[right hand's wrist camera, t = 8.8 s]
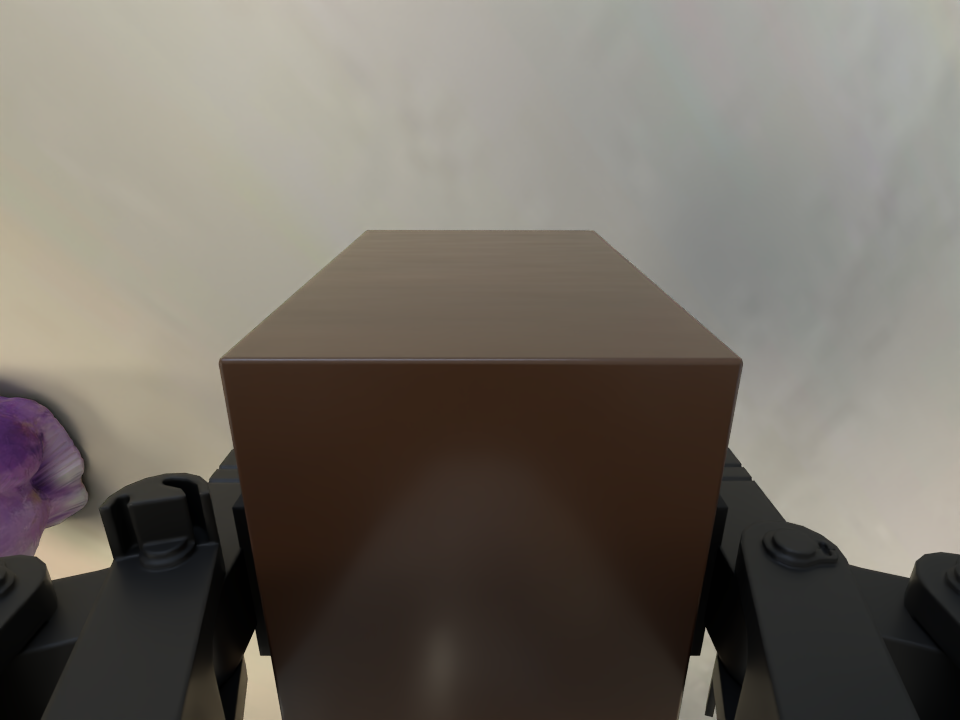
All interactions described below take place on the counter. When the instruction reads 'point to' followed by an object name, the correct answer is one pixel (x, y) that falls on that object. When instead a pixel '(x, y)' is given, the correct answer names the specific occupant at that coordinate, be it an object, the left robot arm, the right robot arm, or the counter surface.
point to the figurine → (35, 475)
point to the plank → (480, 479)
